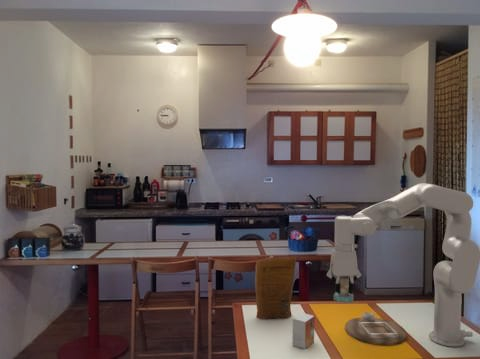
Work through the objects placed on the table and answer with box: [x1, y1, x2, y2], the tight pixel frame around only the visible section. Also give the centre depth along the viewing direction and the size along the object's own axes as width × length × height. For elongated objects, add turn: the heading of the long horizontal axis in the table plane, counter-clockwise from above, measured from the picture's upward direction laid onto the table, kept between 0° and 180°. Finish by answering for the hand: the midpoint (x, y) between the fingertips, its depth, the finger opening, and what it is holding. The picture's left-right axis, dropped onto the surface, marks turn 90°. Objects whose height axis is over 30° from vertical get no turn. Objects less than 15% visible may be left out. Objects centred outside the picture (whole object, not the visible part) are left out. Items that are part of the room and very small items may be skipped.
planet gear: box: [333, 276, 355, 304], centre depth 162 cm, size 8×8×9 cm
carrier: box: [344, 311, 407, 346], centre depth 169 cm, size 24×24×4 cm
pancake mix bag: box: [254, 256, 297, 320], centre depth 183 cm, size 7×19×28 cm, turn 98°
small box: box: [292, 312, 316, 349], centre depth 157 cm, size 8×6×10 cm
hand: (343, 292), depth 162 cm, fingers closed on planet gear, 4 cm apart
